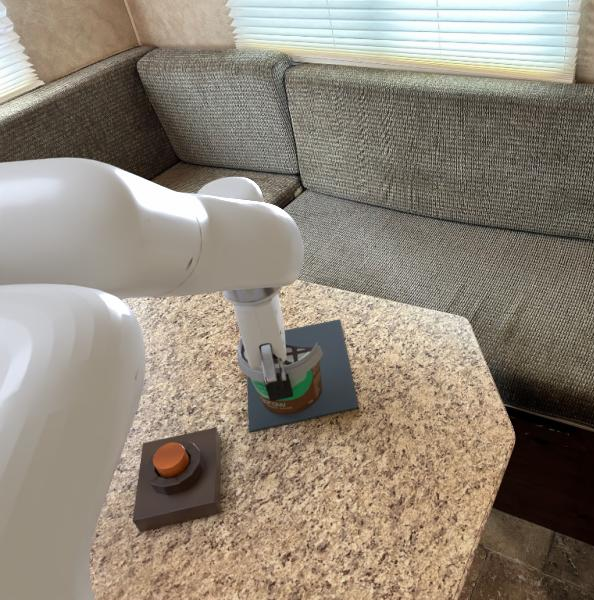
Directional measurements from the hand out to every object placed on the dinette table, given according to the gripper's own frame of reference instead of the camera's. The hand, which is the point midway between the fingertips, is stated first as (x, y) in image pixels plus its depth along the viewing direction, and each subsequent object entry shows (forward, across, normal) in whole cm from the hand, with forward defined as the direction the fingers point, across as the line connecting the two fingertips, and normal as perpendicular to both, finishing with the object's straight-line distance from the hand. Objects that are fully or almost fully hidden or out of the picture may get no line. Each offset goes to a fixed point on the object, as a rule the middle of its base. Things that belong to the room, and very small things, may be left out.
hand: (279, 376), depth 85 cm
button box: (+7, +9, -15) cm, 19 cm away
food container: (+6, 0, 0) cm, 6 cm away
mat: (+7, -7, +2) cm, 10 cm away
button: (+3, +9, -15) cm, 18 cm away
